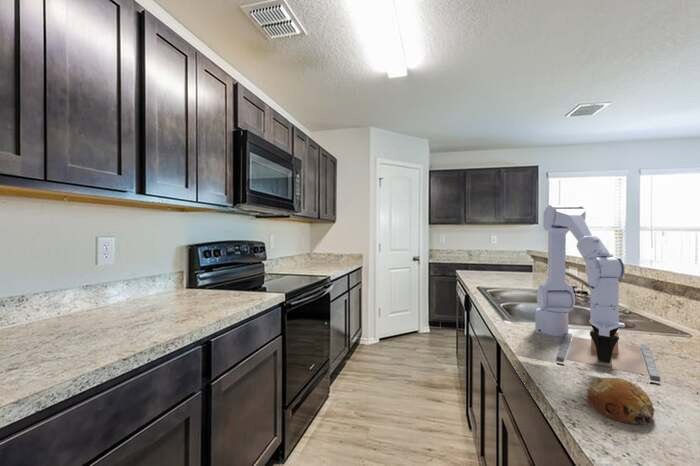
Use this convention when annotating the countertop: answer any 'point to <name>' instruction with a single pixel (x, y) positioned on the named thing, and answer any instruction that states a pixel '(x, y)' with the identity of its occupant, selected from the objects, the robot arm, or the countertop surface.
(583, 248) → the robot arm
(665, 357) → the countertop surface
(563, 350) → the guide rails
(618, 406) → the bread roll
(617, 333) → the terracotta block
